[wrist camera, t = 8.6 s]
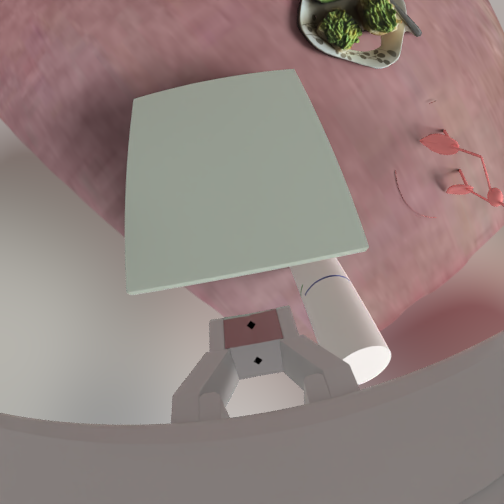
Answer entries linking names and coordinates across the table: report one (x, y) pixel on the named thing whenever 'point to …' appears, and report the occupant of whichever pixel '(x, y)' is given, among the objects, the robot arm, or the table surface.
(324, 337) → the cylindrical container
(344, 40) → the salad plate
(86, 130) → the table surface
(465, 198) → the table surface
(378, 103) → the table surface
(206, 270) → the lid
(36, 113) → the table surface
